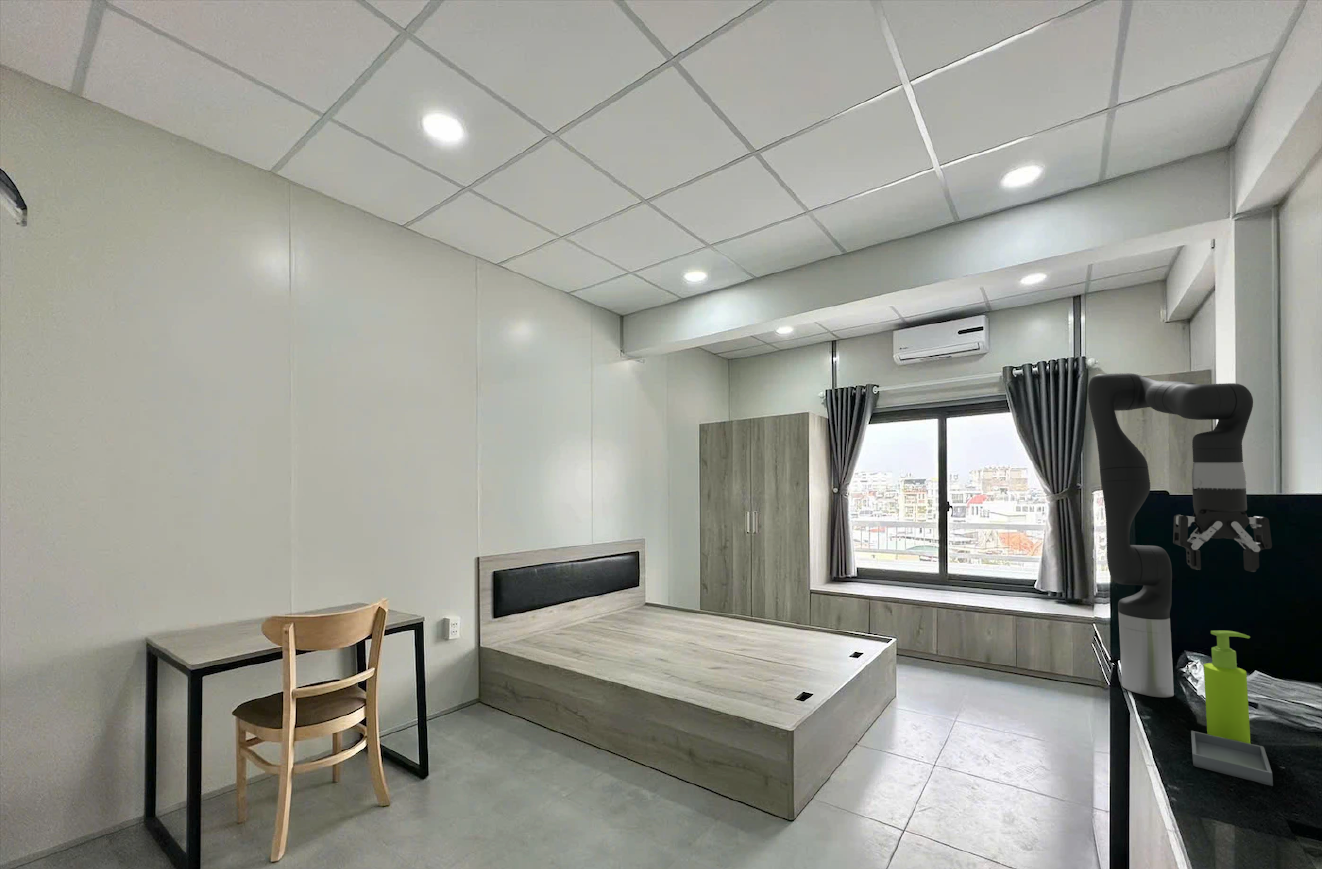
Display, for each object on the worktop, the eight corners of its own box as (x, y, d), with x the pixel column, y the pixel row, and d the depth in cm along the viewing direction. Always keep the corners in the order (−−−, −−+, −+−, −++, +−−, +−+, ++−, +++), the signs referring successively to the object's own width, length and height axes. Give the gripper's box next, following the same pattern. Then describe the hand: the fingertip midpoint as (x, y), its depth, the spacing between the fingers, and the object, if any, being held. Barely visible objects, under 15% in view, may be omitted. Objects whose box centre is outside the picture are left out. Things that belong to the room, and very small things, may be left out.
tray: (1191, 741, 108) (1191, 730, 108) (1264, 758, 102) (1263, 746, 102) (1193, 766, 99) (1192, 754, 100) (1273, 786, 93) (1272, 773, 93)
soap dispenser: (1266, 747, 106) (1259, 637, 107) (1222, 744, 107) (1215, 634, 108) (1241, 733, 112) (1235, 628, 113) (1199, 730, 113) (1193, 626, 114)
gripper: (1251, 485, 113) (1255, 568, 113) (1163, 484, 118) (1167, 564, 117) (1279, 487, 106) (1283, 575, 106) (1185, 486, 110) (1188, 571, 110)
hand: (1222, 570), depth 111 cm, fingers open, 8 cm apart
